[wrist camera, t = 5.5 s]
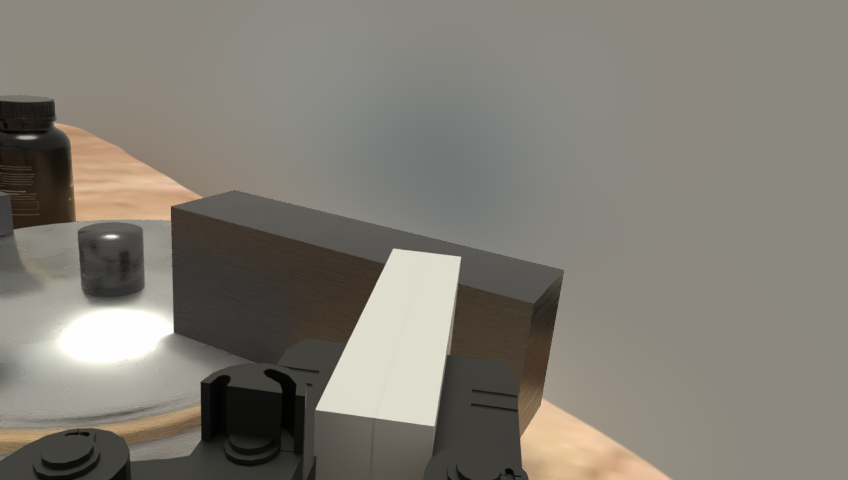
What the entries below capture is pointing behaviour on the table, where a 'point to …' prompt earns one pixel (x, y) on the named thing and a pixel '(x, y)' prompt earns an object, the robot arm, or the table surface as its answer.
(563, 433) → the table surface
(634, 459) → the table surface
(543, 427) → the table surface
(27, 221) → the supplement bottle
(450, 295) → the robot arm
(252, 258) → the lid
